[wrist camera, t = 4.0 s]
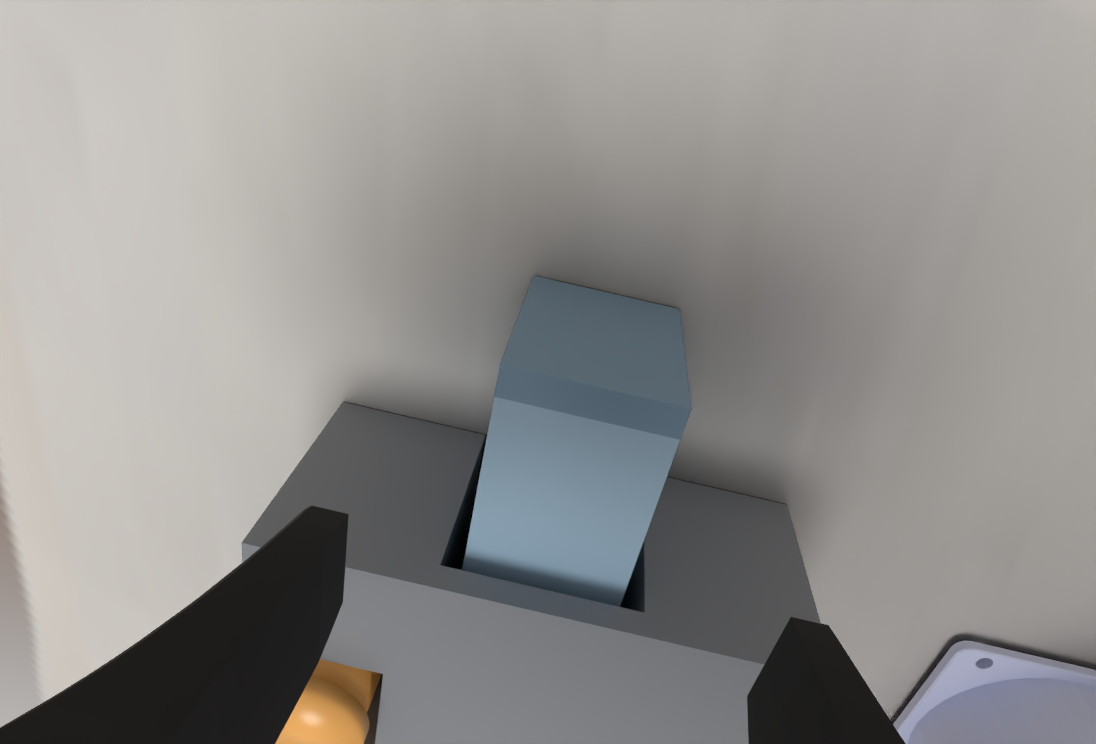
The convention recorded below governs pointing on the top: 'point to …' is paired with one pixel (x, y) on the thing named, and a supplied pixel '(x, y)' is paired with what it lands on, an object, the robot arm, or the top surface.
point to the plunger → (332, 707)
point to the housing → (538, 603)
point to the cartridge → (578, 440)
